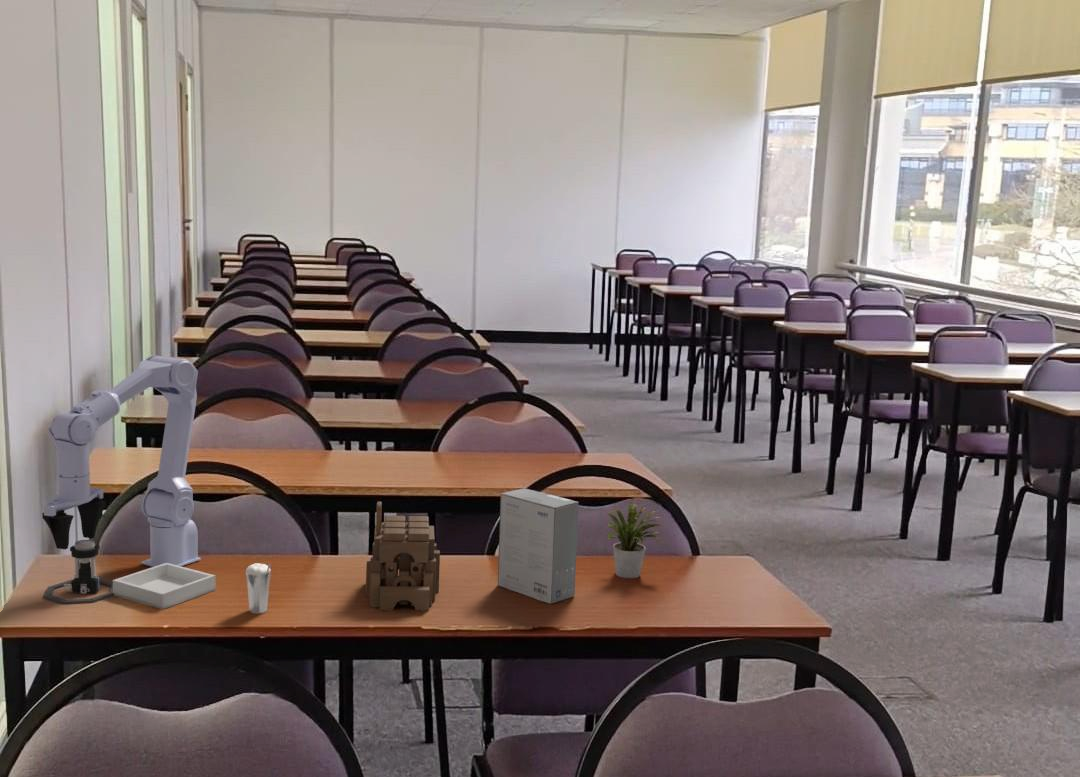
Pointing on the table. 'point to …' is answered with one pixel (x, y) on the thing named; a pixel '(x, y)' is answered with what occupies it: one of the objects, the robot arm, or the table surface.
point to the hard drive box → (538, 545)
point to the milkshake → (258, 587)
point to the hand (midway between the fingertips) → (75, 542)
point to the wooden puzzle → (403, 563)
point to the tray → (164, 585)
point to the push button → (84, 567)
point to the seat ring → (49, 596)
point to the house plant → (630, 541)
